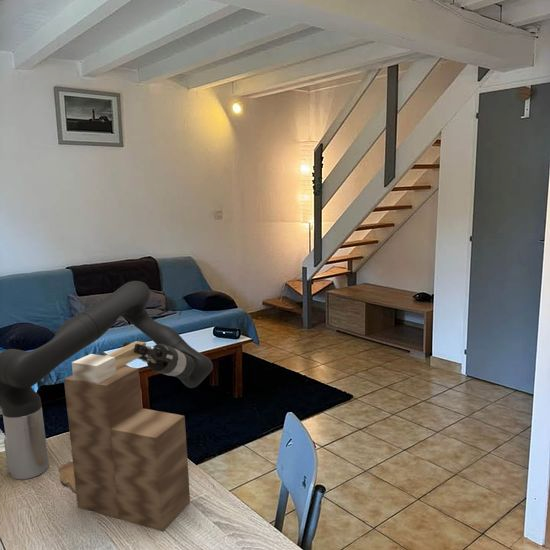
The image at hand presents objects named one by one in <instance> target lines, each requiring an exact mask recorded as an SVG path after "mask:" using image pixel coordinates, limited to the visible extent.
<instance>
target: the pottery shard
mask: <svg viewBox="0 0 550 550" xmlns="http://www.w3.org/2000/svg"><path fill="white" fill-rule="evenodd" d="M58 472H59V477H60V481H61V483H62V484H63V485H66V487H68V488H69V490H71V491H72V493H74V494H76V487H75V478H74V468H73V460H72V461H67V462H65V463H63V464H60V466H59V467H58Z"/></svg>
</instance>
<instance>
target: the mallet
mask: <svg viewBox="0 0 550 550" xmlns="http://www.w3.org/2000/svg"><path fill="white" fill-rule="evenodd" d="M135 344H140V345H143V346H146V347H147V342H146V341H139V340H136V341H134V342H131V343H130V344H129V345H127V346H125V347H123V346H122V347H120V348H118V349H115V350H114V351H112V352H110V353H108V354H106V355H101V354H94V353H90V354H88V355H85V356H83V357H81V358H78V359H76V360H73V361H71V369H72V375H73V380H79V381H86V382H92V383H100V382H102V381H104V380H106V379H108V378H110V377H111V376H113V375H115V374H116V369H118V368H120V367H122V366H125V365H127V364H130V363H131V362H133V361H135V360H137V358H139V357H141V356H143V355H140V354H137V353H135V352H134V347H135Z"/></svg>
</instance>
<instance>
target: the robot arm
mask: <svg viewBox="0 0 550 550" xmlns="http://www.w3.org/2000/svg"><path fill="white" fill-rule="evenodd" d="M150 295H151V291H150V287H149V286H148V285H147V284H146V283H145V282H143V281H140V280H131V281H128V282H126V283H124V284H123V285H121V286H119V288H117V289H116V290H115V291H114V292H112V293H111V294H109V295H108V296H107V297H105V298H104V299H102V300H100V301H98V302H95V304H93V305H92V306H90V307H89V308H87V309H85V310H83V311H81V312H79V313H77V314H75V315H74V316H72V317H70V318H68V319H67V320H66V321H64V322H63V324H61V325H60V327H59V328H58V330H57V332H56V333H55V335H54V336H53V338H52V339H50V340H49V341H48V342H46V343H45V344H43V345H41V346H39V347H37V348H35V349H33V350H30V351H25V350H22V349H16V348H8V349H5V350H3V351H1V352H0V408H1V411H2V418H3V419H2V420H3V425H4V434H5V435H4V436H5V438H4V440H3V443H4V445H3V446H4V451H5V452H4V453H5V460H6V467H7V473H8V474H10V476H11V478H13V479H15V480H28V479H33V478H35V477H39V475H40V476H41V475H42V474H43V473H45V472H46V471H47V470H48V468H49V456H48V448H47V447H48V446H47V440H46V432H45V423H44V415H43V407H42V400H41V396H40V395H39V394H38V393H37V392H36V391H35V390H34V389H33V386H34V385H36V384H37V383H39V382H40V381H41V380H43V379H44V378H45V377H47V376H48V374H50V373H51V372H52V371H54V369H56V368H58V366H60V365H61V364H62V363H64V362H65V361H67V360H69V359H70V358H72V356H74V355H76V354H77V353H79V352H80V351H81V350H83V349H85V348H87V347H88V346H90V345H92V344H93V343H94V342H96V341H97V340H99V339H100V338H101V337H102V336H103V335H104V334H105V333H106V332H107V331H108V330H109V329H110V328H112V326H113V325H114V324H115V322H116V321H117V320H118V319H119V318H120V317H121V316H122V317H123V318H124V319H126V320H127V322H129V323H131V324H132V325H133V326H135V327H136V328H137V329H138V330H139V331H141V332H142V333H143V335H144V334H145V335H146V336H147V337H148V338H149V339H150V340H151V341H152V342H153V343H154V344H155V345H153V346H148V345H146V346H143V345H140V344H135V347H134V352H135V353H137V354H140V355H143V356H141V357H139V358H137V359H138V360H141V361H142V362H144V363H146V365H147V366H148V368H149V369H150V370H151V371H153V372H157V373H158V374H159V373H160V374H161V375H166V376H170V377H171V376H172V377H176V378H177V379H178V380H180V381H181V383H182V384H183V385H184V386H185V387H187V388H190V389H194V388H196V387H198V386H199V385H200V384H201V383H202V382H203V381H204V380H205V379H206V378H207V377H208V376H209V375H210V373H211V372H212V371H213V370H214V364H213V362H212V360H211V359H210V358H209V357H208V356H206V355H205V354H203V353H201V352H199V351H198V350H196V349H195V348H193V347H192V346H190V345H189V344H188V343H187V342H186V341H185V340H184V339H183V338H182V337H181V335H180V334H179V333H178V332H177V331H176V330H175V329H173V328H172V327H170V326H167V325H166V324H162V323H159V322H158V321H156V320H154V319H153V318H152V317H151V316H150V314H149V313H148V311H147V310H146V308H147V305H148V302H149V300H150ZM129 344H131V343H129V342H125V341H124V342H123V344H122V347H125V346H127V345H129ZM137 359H136V360H137Z"/></svg>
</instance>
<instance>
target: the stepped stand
mask: <svg viewBox="0 0 550 550" xmlns="http://www.w3.org/2000/svg"><path fill="white" fill-rule="evenodd" d="M63 384H64V391H65V392H64V393H65V403H66V411H67V420H68V429H69V430H68V431H69V432H68V433H69V440H70V450H71V458H72V461H73V468H74V478H75V487H76V503H77V508H78V509H82V510H86V511H90V512H94V513H97V514H99V515H104V516H107V517H111V518H114V519H118V520H121V521H125V522H128V523H132V524H136V525H139V526H142V527H145V528H149V529H153V530H156V531H160V532H164V531H165V530H166V529H168V527H169V526H170V525H171V523H173V522H174V520H176V519H177V517H178V516H179V515H180V514H181V513H182V512H183V511H184V510H185V509H186V508H187V506H189V504H190V503H191V495H190V494H191V493H190V479H189V477H190V476H189V464H188V447H187V432H186V429H187V428H186V417H185V415H183V414H182V415H181V414H177V413H170V412H166V411H159V410H154V409H148V408H143V407H142V395H141V384H140V369H139V368H138V367H131V366H125V365H124V366H122V367H120V368H118V369H116V374H115V375H113V376H111V377H110V378H108V379H106V380H104V381H102V382H100V383H92V382H86V381H79V380H73V374H71V375H69V376H66V377H65V378H63Z"/></svg>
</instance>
